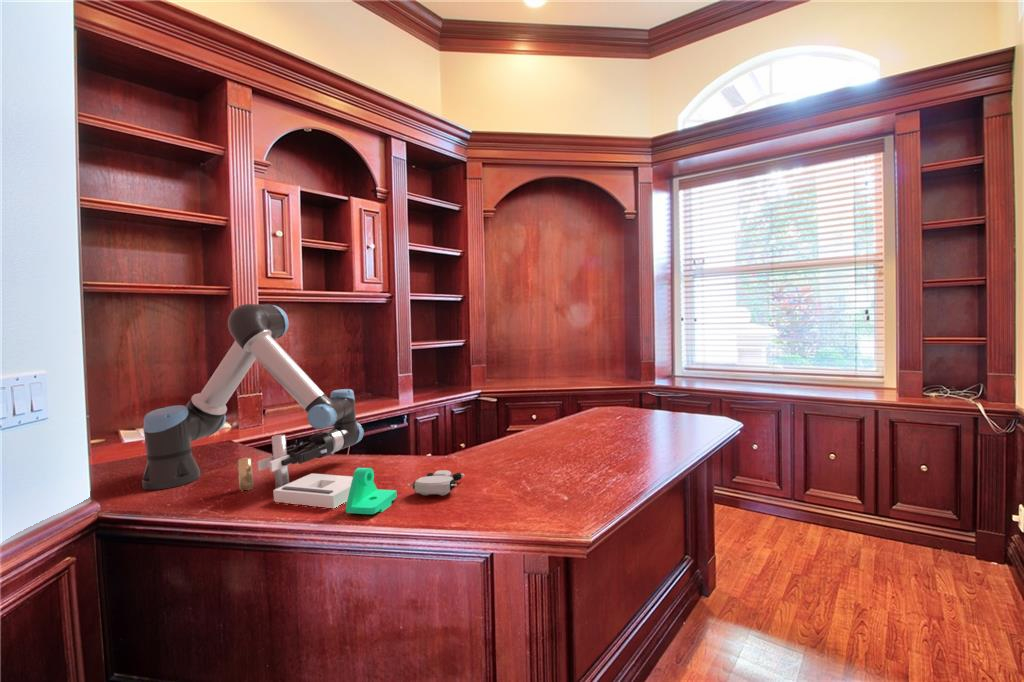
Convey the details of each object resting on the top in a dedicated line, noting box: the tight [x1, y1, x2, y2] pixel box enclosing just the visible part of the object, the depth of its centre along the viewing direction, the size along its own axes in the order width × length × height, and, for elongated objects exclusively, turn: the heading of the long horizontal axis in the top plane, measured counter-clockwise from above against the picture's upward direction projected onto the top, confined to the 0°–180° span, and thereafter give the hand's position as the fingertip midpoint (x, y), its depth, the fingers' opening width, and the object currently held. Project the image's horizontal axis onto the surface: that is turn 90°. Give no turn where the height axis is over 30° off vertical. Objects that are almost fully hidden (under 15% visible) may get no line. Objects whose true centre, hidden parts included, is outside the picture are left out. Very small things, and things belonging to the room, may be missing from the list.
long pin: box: [271, 434, 290, 489], centre depth 139 cm, size 4×4×16 cm
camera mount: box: [345, 467, 398, 515], centre depth 124 cm, size 12×8×10 cm, turn 164°
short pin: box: [236, 456, 255, 491], centre depth 144 cm, size 4×4×9 cm
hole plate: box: [272, 472, 353, 510], centre depth 134 cm, size 20×14×4 cm
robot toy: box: [407, 469, 465, 497], centre depth 134 cm, size 12×4×15 cm
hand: (264, 466), depth 134 cm, fingers closed on long pin, 3 cm apart
